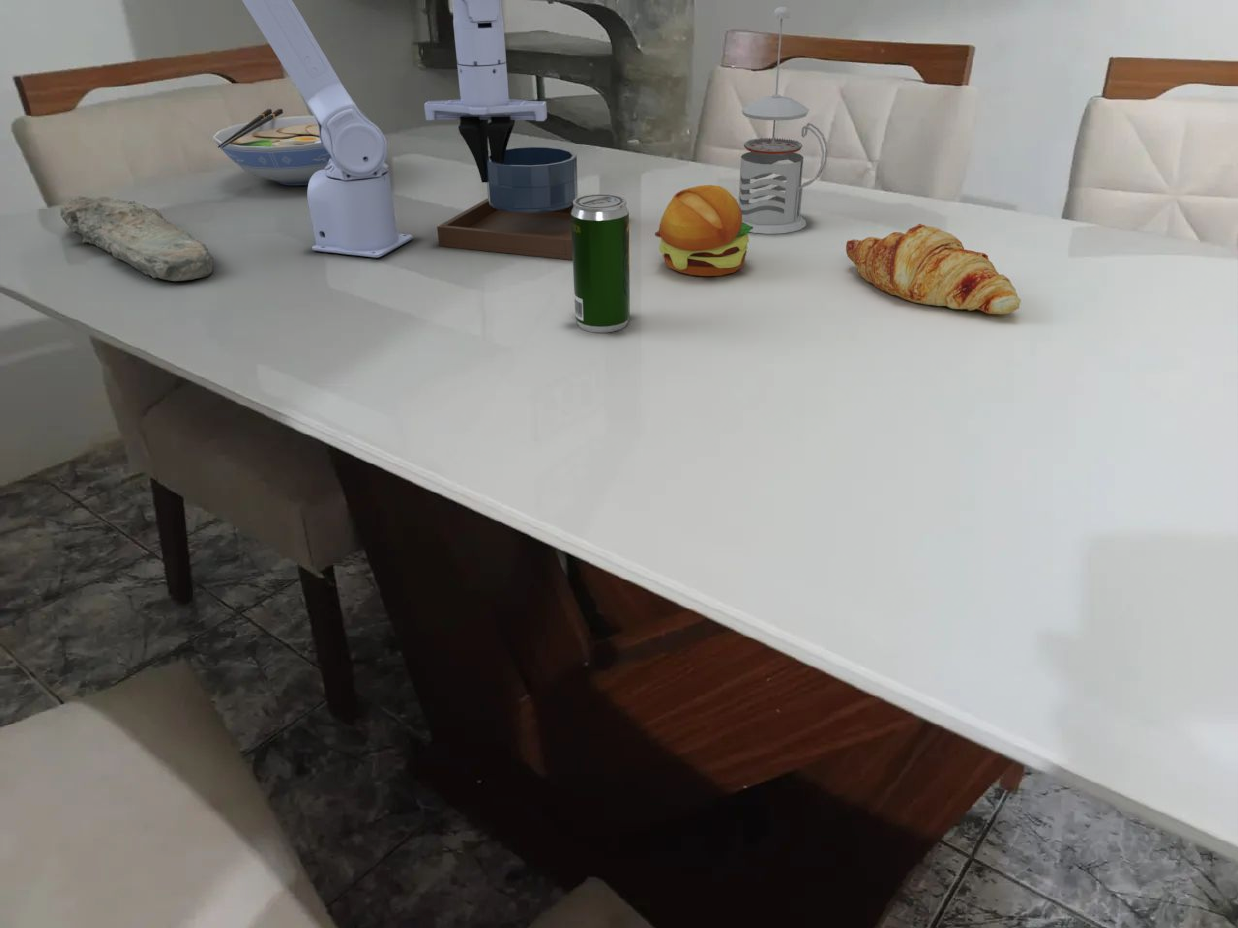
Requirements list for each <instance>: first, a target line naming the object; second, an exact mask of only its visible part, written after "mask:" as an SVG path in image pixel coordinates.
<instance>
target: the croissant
mask: <svg viewBox="0 0 1238 928" xmlns="http://www.w3.org/2000/svg"><path fill="white" fill-rule="evenodd" d="M845 252H846V255H847V258H849V260H851V262H852V263H853V264H854V265H855V267H856V269H857V271H858V273H859V275H860V276H861V278H863V279H864V280H865V281H866V282H868V283H872V284H873V285H874V287H876V288H877V289H879V290H881V291H883V292H885V293H887V294H889V295H891V296H896V297H899V298H901V299H904V300H906V301H908V302H912V303H916V304H922V305H928V306H937V307H947V308H949V309H952V310H967V311H975V310H979V311H981V312H983V313H985V314H989V315H1005V314H1006V315H1007V314H1009V313H1013V312H1015V311H1017V310H1018V309H1020V305H1021V299H1020V298H1019V296H1018V294H1017V291H1016V288H1015V286H1014V285H1013V284H1012V282H1011V280H1010V279H1009V278H1008V277H1007V276H1005V275H1004V274H1000V273H999V272H998V270H997V269H996V267H995V265H994V264H993V262H992V261H991V260H989V255H988V254H986V253H984V252H979V251H974V250H971V249H965V247H964V245H963V242H962V241H960V239H959V238H957V237H956V236H954V234H952V233H949V232H947V231H944V230H941V228H938V227H934V226H927V225H925V224H922V223H918V224H917V225H915V226H913V227H911V228H909V229H908V230H907V231H906V232H905V233H904V232H900V231H894V232H893V231H892V232H891V233H890V234H888V235H886V236H884V238H880V237H872V236H870V237H869V236H868V237H865V238H864V239H862V240H861V239H860V240H859V239H851V240H847V242H846V246H845Z"/></svg>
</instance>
